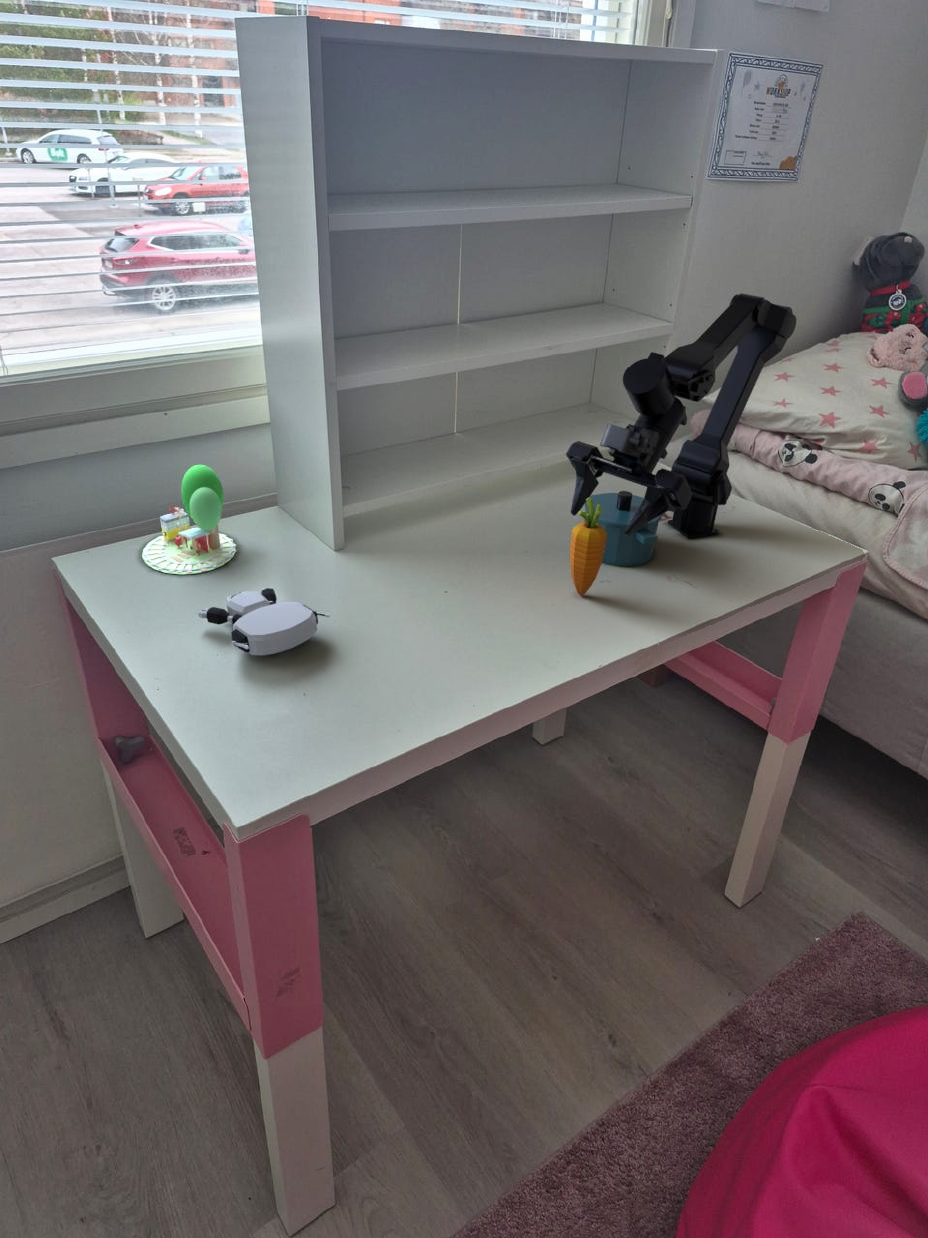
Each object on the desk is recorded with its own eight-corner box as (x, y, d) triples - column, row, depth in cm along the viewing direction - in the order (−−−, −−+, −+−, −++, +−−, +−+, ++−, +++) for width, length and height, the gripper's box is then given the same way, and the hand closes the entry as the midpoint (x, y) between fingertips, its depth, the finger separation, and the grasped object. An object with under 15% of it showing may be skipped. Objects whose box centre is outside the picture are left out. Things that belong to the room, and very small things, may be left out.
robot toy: (194, 632, 115) (253, 676, 106) (189, 602, 113) (248, 644, 104) (274, 603, 123) (335, 642, 113) (270, 574, 121) (332, 611, 111)
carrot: (596, 606, 125) (610, 511, 117) (562, 601, 126) (574, 506, 118) (598, 589, 129) (612, 497, 121) (565, 585, 130) (577, 492, 122)
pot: (620, 524, 149) (625, 486, 146) (675, 568, 136) (683, 528, 133) (561, 532, 145) (566, 494, 142) (612, 578, 132) (619, 538, 129)
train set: (125, 455, 130) (220, 447, 134) (138, 536, 137) (228, 525, 141) (132, 493, 118) (236, 483, 123) (146, 580, 125) (244, 567, 130)
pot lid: (634, 495, 144) (637, 475, 143) (676, 525, 135) (680, 504, 133) (570, 503, 140) (572, 482, 138) (608, 535, 131) (611, 513, 129)
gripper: (581, 386, 123) (526, 478, 122) (698, 419, 113) (639, 520, 111) (604, 427, 132) (553, 513, 131) (714, 461, 122) (660, 555, 121)
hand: (598, 524), depth 123 cm, fingers open, 9 cm apart
